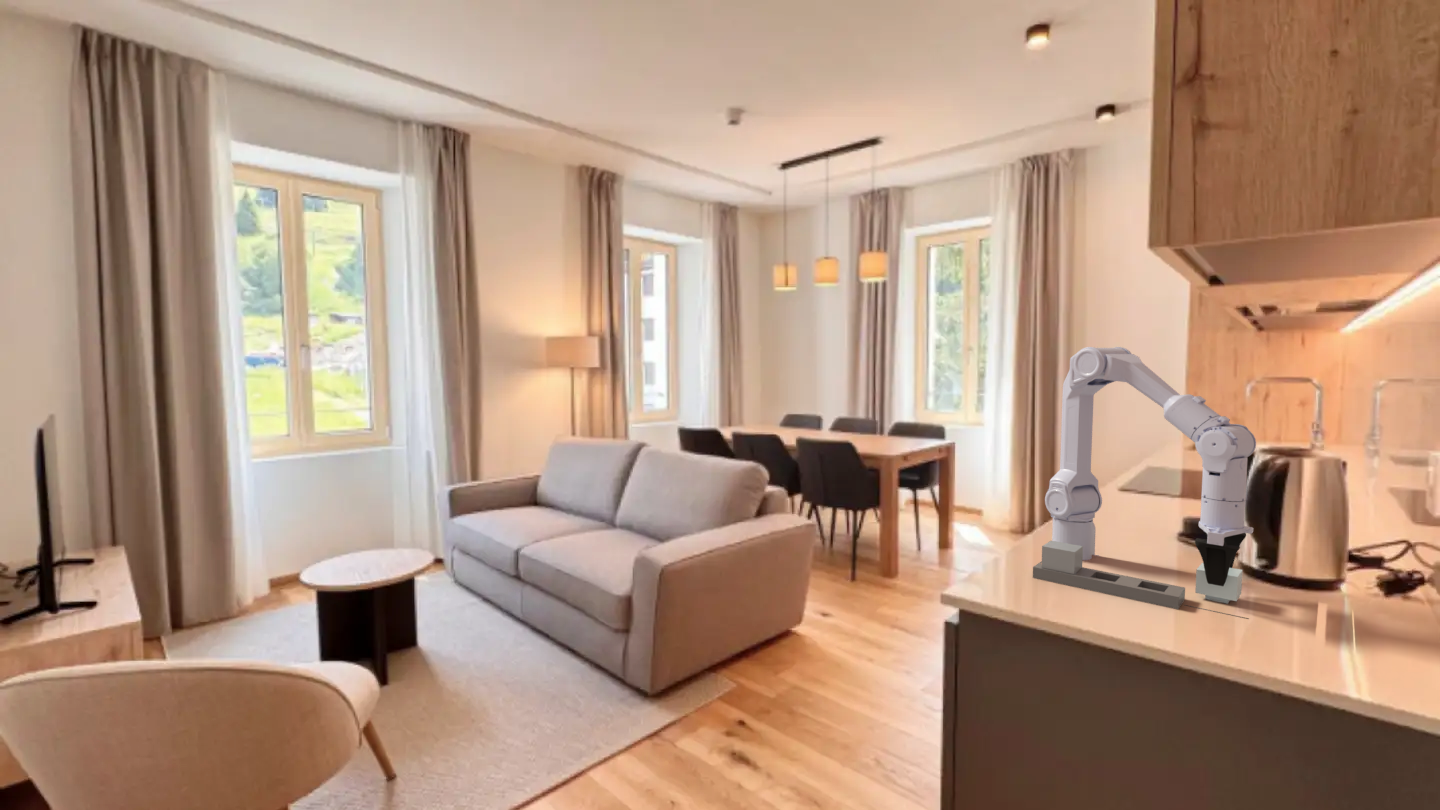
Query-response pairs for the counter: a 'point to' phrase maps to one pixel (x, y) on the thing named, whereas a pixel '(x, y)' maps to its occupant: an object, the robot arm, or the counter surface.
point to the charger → (1220, 593)
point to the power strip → (1103, 578)
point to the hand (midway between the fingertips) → (1219, 578)
